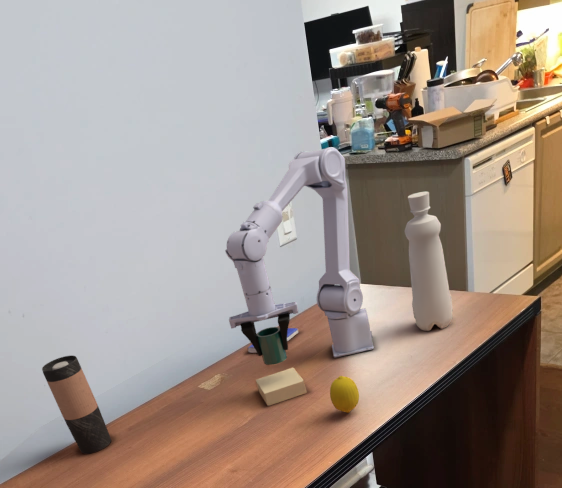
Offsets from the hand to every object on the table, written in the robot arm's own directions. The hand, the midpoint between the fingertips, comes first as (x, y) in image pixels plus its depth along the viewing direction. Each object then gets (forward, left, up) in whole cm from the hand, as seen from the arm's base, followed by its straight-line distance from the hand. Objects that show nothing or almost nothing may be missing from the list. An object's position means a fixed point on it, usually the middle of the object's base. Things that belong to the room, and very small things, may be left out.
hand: (273, 351), depth 141 cm
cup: (0, 0, -2) cm, 2 cm away
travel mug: (+43, +8, -10) cm, 44 cm away
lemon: (-13, +18, -10) cm, 24 cm away
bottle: (-37, -18, -10) cm, 43 cm away
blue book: (+3, -31, -10) cm, 33 cm away
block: (0, +1, -9) cm, 9 cm away
